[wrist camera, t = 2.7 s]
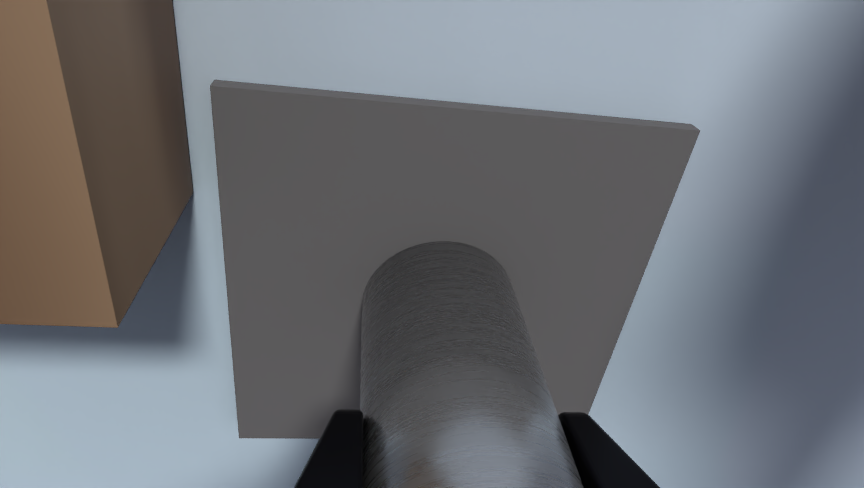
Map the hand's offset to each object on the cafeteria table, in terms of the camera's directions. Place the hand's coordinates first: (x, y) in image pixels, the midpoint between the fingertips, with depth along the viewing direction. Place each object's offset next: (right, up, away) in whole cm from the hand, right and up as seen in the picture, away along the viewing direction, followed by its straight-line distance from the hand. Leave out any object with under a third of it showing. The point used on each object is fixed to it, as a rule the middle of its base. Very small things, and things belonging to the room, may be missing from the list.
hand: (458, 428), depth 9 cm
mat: (0, +2, +3) cm, 3 cm away
